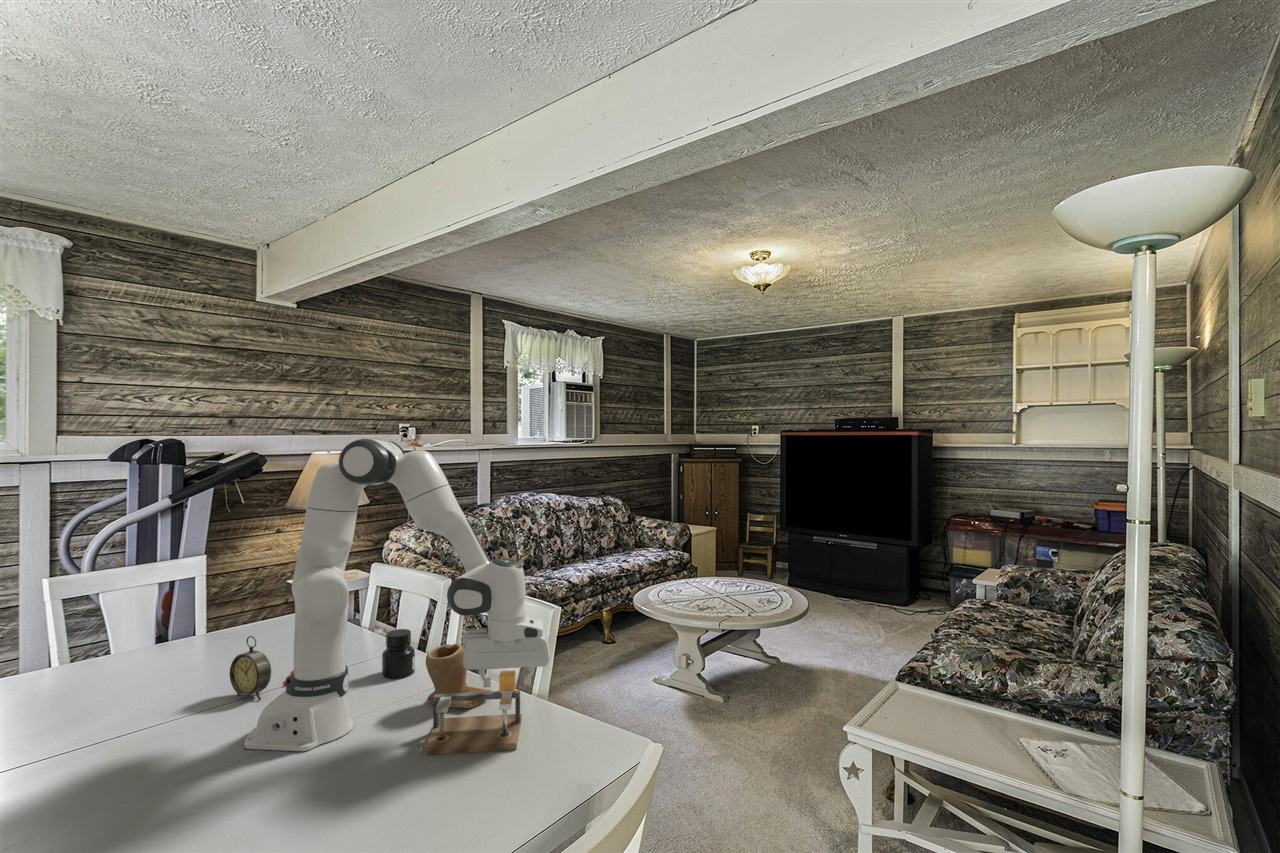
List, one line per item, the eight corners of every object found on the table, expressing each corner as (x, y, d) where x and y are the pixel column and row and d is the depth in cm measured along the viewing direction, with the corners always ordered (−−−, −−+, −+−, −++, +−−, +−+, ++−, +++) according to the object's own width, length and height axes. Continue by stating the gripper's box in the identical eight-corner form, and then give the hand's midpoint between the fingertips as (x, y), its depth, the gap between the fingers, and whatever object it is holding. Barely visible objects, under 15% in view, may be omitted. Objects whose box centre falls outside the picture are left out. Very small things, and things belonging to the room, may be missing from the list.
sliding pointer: (496, 734, 140) (496, 685, 140) (500, 717, 148) (500, 671, 148) (512, 733, 141) (512, 684, 141) (515, 716, 149) (515, 670, 149)
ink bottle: (422, 672, 181) (421, 631, 181) (396, 682, 174) (395, 640, 174) (401, 665, 186) (400, 625, 186) (374, 675, 179) (374, 634, 179)
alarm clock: (228, 697, 165) (227, 636, 165) (247, 689, 170) (247, 630, 170) (256, 704, 161) (256, 642, 161) (275, 695, 166) (275, 635, 166)
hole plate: (423, 755, 135) (423, 715, 135) (437, 724, 149) (437, 688, 149) (516, 749, 138) (516, 710, 138) (521, 719, 151) (521, 684, 151)
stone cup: (415, 708, 158) (415, 650, 158) (446, 690, 169) (446, 635, 169) (464, 719, 152) (463, 658, 152) (492, 699, 163) (492, 642, 163)
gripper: (459, 633, 143) (460, 693, 143) (548, 630, 145) (549, 688, 145) (464, 625, 149) (464, 682, 149) (549, 621, 151) (550, 677, 151)
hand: (507, 685), depth 147 cm, fingers open, 8 cm apart
